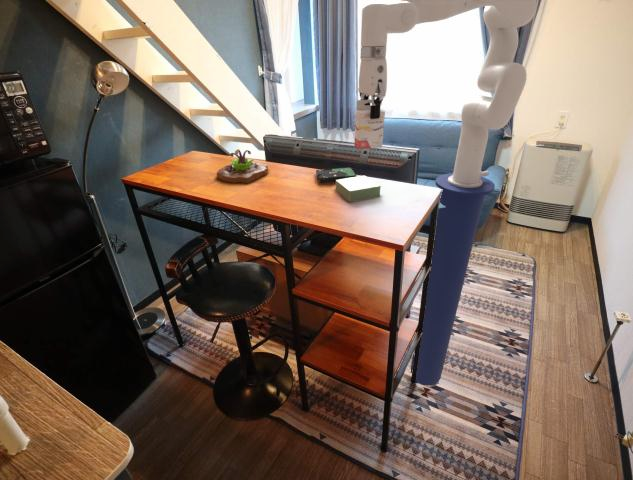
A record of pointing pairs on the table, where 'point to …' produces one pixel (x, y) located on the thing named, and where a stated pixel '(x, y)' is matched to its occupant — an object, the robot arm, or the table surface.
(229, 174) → the plant
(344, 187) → the green block
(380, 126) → the ink cartridge box
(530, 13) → the robot arm
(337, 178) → the disk drive
